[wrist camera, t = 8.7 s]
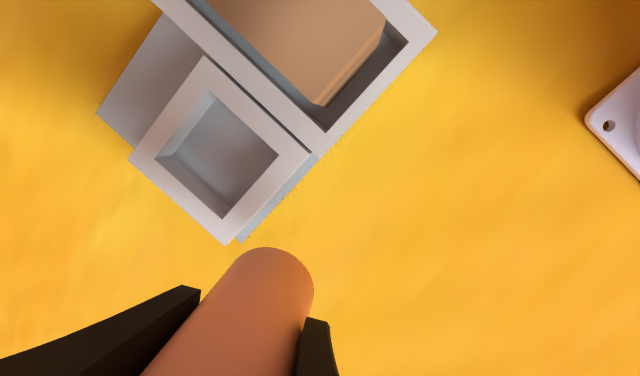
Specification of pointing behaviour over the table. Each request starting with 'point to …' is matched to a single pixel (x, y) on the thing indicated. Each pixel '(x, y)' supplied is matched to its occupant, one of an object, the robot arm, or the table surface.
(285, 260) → the tail peg
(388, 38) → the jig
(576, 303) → the table surface
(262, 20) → the tan rectangular block
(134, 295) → the table surface
